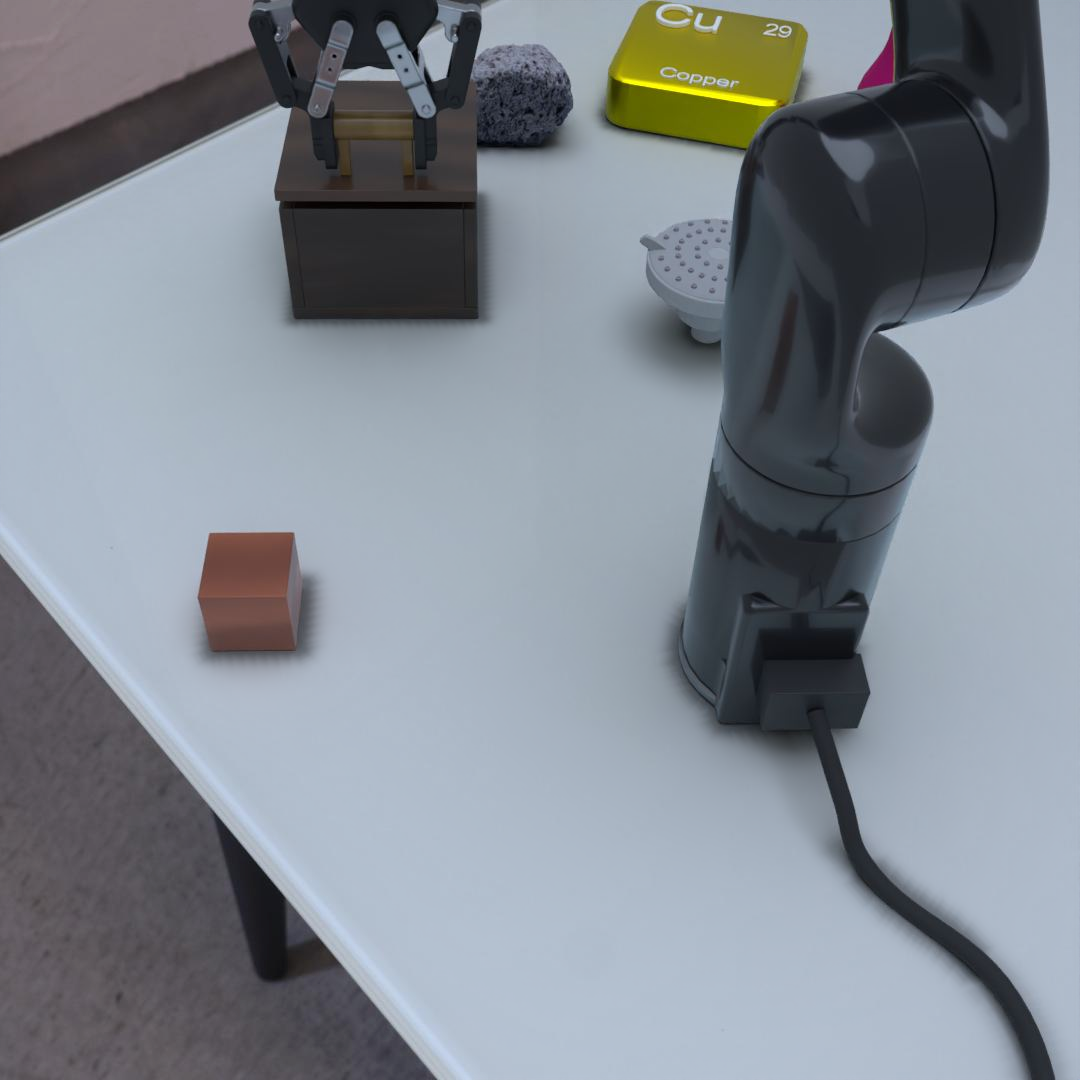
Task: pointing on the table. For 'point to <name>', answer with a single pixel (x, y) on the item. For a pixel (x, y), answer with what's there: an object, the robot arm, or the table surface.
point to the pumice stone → (519, 95)
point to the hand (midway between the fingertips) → (377, 161)
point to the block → (251, 591)
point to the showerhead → (692, 272)
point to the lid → (380, 150)
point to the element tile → (703, 72)
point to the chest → (381, 258)
